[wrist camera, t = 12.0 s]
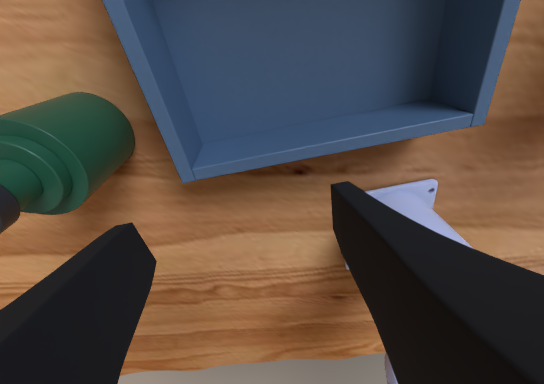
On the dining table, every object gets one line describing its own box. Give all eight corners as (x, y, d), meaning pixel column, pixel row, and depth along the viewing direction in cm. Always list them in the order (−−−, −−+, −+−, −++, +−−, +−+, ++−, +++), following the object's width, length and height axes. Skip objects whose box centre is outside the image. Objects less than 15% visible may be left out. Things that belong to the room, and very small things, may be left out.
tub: (489, -219, 10) (630, -367, 7) (433, 105, 18) (484, 124, 14) (93, -123, 11) (9, -209, 7) (196, 152, 18) (182, 183, 14)
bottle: (147, 158, 18) (69, 251, 10) (80, 171, 18) (-47, 273, 11) (110, 84, 16) (-35, 134, 8) (32, 101, 16) (-190, 166, 8)
